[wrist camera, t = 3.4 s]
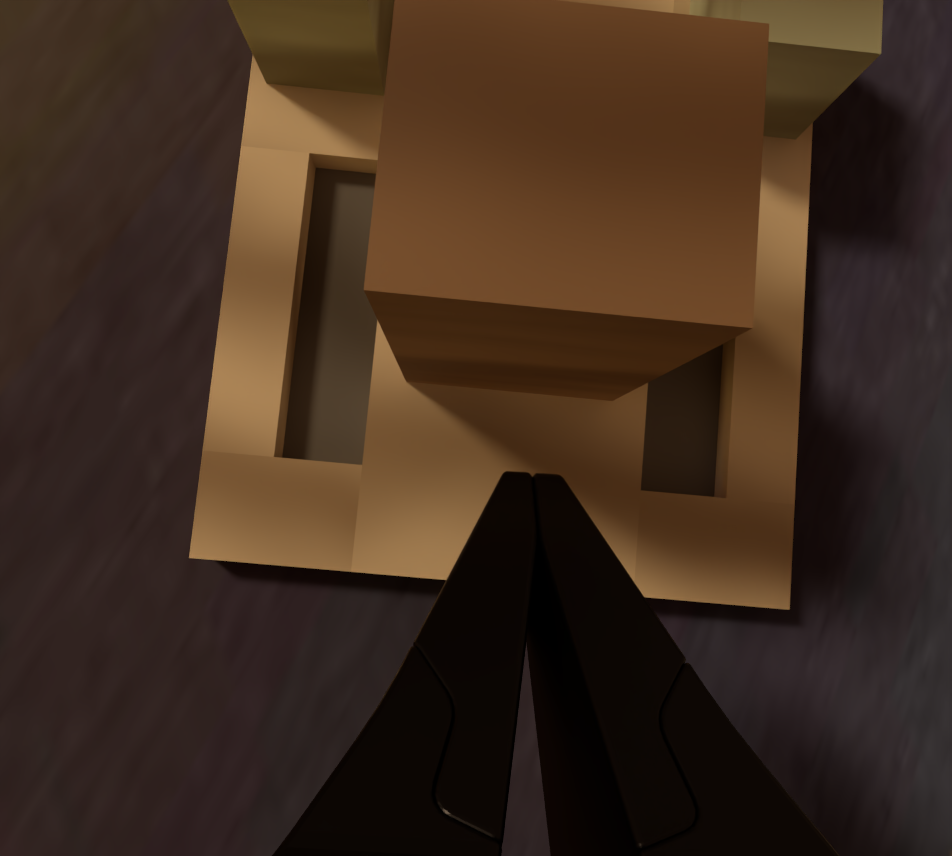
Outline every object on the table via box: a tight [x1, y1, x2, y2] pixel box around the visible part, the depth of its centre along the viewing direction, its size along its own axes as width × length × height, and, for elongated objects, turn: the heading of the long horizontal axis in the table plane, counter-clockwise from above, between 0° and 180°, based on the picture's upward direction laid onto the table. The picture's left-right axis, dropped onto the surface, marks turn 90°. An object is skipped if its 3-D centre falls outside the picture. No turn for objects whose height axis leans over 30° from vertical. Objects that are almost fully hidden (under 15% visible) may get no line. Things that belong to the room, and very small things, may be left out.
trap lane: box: [189, 0, 883, 610], centre depth 18 cm, size 18×17×5 cm
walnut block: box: [364, 0, 769, 401], centre depth 15 cm, size 5×6×9 cm
